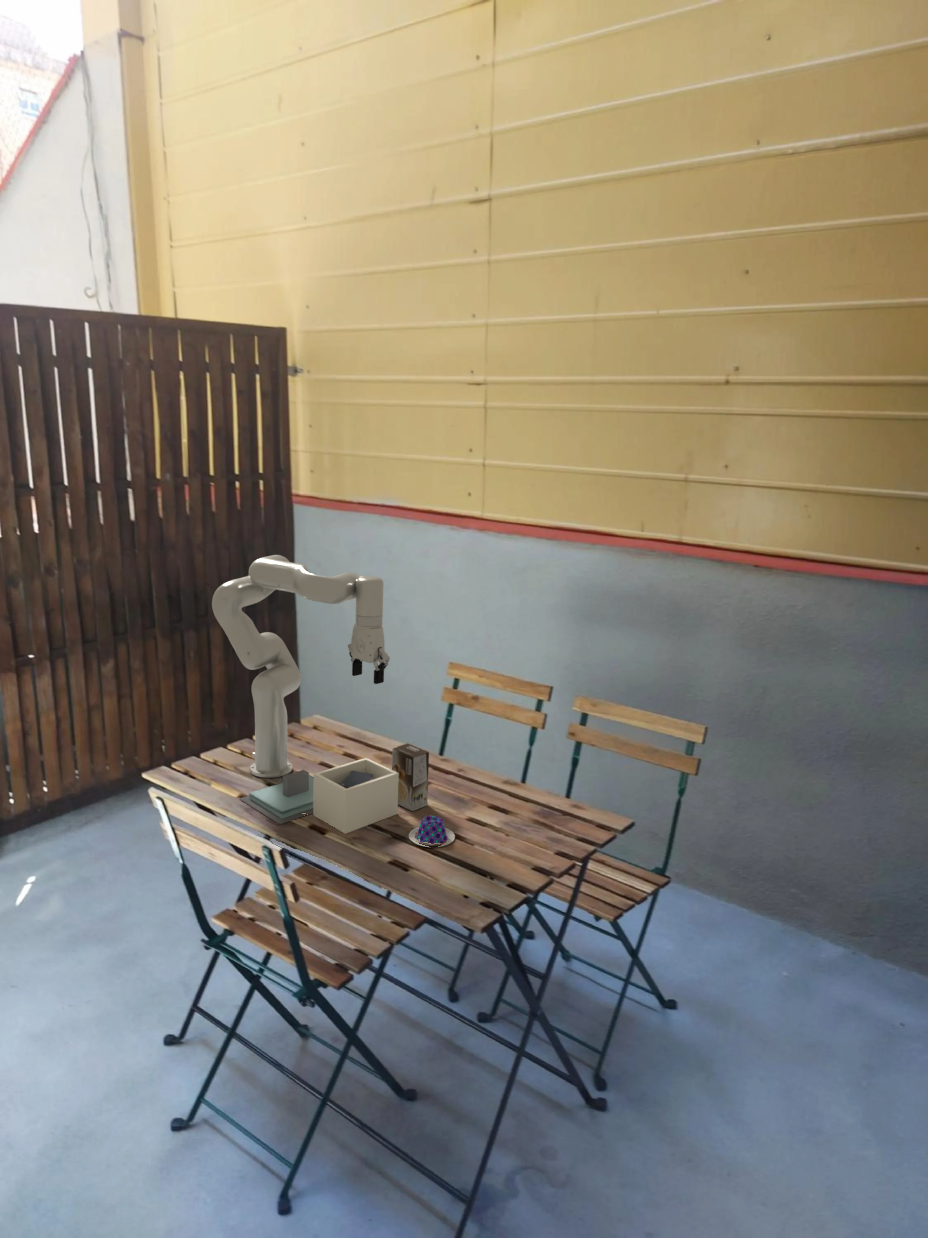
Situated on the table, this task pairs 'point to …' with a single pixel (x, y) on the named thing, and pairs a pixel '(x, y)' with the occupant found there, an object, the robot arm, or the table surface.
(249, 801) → the mat
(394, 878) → the table surface
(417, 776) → the coffee box
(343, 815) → the box
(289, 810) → the lid
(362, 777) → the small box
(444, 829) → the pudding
